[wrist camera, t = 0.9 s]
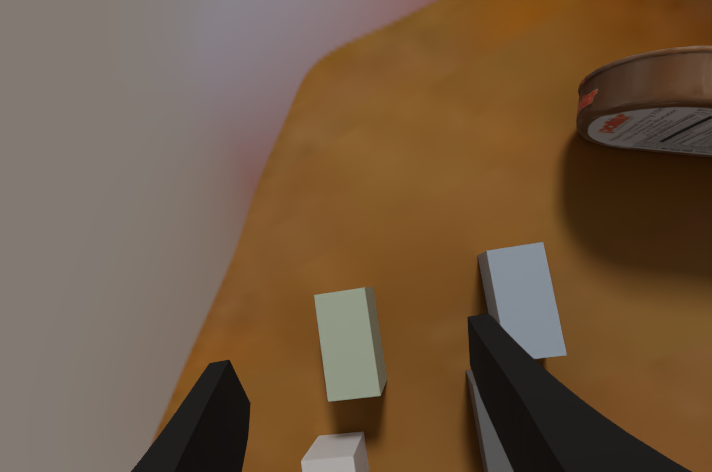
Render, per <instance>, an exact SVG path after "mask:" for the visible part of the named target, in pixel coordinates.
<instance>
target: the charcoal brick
mask: <svg viewBox="0 0 712 472" xmlns="http://www.w3.org/2000/svg"><path fill="white" fill-rule="evenodd" d="M466 375H467V380H468V386H469V392H470V397H471V403H472V408H473V414H474V420H475V425H476V431H477V437H478V442H479V448H480V454H481V459H482V465H483V471H484V472H514V471H513V469H512V467H511V465H510V462H509V460H508V458H507V456H506V453H505V451H504V449H503V447H502V445H501V442H500V440H499V438H498V436H497V433H496V431H495V429H494V427H493V424H492V422H491V420H490V418H489V415H488V413H487V411H486V409H485V406H484V404H483V402H482V400H481V397H480V394H479V391H478V388H477V385H476V382H475V379H474V376H473V372H472V370H467V371H466Z"/></svg>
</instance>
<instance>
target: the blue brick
mask: <svg viewBox="0 0 712 472" xmlns="http://www.w3.org/2000/svg"><path fill="white" fill-rule="evenodd" d="M478 260H479V266H480V271H481V276H482V282H483V287H484V292H485V298H486V303H487V308H488V314H490V315H491V316H493V318H494V319H495V320H496V321H497V322H498V323H499V324H500V325H501V326H502V327H503V329H504V330H505V331H506V332H507V333H508V334H509V335H510V336H511V337H512V338H513V339H514V340H515V341H516V342H517V343H518V344H519V345H520V346H521V347H522V348H523V349H524V350H525V351H526V352H527V353H528V354H529V355H530V356H531V357H533V358H534V359H538V358H546V357H555V356H563V355H567V354H566V349H565V344H564V340H563V335H562V330H561V325H560V321H559V316H558V311H557V306H556V301H555V297H554V292H553V287H552V282H551V278H550V273H549V268H548V263H547V259H546V254H545V249H544V244H543V242H540V243H534V244H527V245H521V246H515V247H508V248H502V249H495V250H489V251H485V252H483V253H481V254H479V255H478Z"/></svg>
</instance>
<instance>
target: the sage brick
mask: <svg viewBox="0 0 712 472" xmlns="http://www.w3.org/2000/svg"><path fill="white" fill-rule="evenodd" d="M314 298H315V305H316V313H317V321H318V328H319V336H320V343H321V351H322V359H323V366H324V374H325V381H326V389H327V397H328V402H329V401H338V400H348V399H357V398H366V397H375V396H381V394H382V391H383V389H384V386H385V384H386V381H387V376H386V369H385V362H384V356H383V349H382V343H381V336H380V329H379V323H378V316H377V310H376V303H375V297H374V290H373V287H366V288H359V289H352V290H345V291H339V292H332V293H325V294H319V295H314Z"/></svg>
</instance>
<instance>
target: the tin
mask: <svg viewBox="0 0 712 472" xmlns="http://www.w3.org/2000/svg"><path fill="white" fill-rule="evenodd" d="M578 93H579V104H578V111H577V130H578V132H579V134H580V135H581V136H582V137H583V138H585V139H587V140H589V141H591V142H593V143H596V144H599V145H603V146H608V147H613V148H621V149H630V150H640V151H649V152H659V153H669V154H678V155H689V156H700V157H710V158H712V46H690V47H679V48H668V49H662V50H657V51H652V52H646V53H642V54H637V55H633V56H629V57H626V58H622V59H620V60H617V61H614V62H611V63H609V64H606V65H604V66H602V67H601V68H599V69H596V70H595V71H593V72H592V73H590V74H589V75H588V76H586V77H585V78H584V80H582V82H581V83H580V85H579V89H578Z"/></svg>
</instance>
